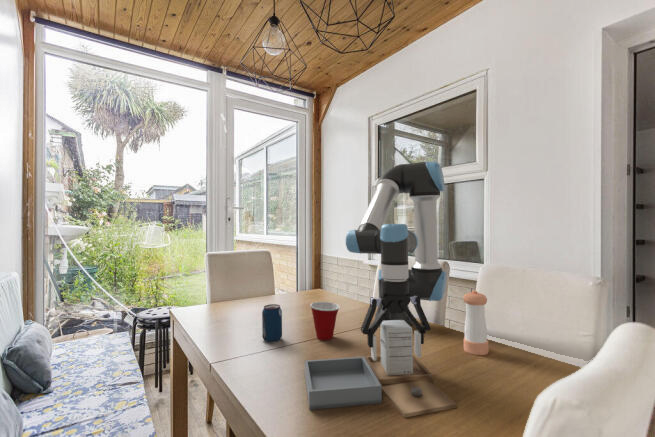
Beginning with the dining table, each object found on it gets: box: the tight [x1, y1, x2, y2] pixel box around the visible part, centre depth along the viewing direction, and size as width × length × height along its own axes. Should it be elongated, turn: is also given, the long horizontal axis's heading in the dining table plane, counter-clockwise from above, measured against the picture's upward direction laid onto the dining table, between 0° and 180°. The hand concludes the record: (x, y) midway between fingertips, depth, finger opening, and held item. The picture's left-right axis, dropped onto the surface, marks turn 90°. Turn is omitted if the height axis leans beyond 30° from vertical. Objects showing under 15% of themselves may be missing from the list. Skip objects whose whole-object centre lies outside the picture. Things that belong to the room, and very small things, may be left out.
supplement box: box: [379, 320, 414, 375], centre depth 91 cm, size 7×7×13 cm
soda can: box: [261, 303, 283, 344], centre depth 117 cm, size 7×7×12 cm
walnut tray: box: [363, 354, 434, 386], centre depth 91 cm, size 15×15×2 cm
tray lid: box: [382, 380, 458, 419], centre depth 77 cm, size 13×12×2 cm
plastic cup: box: [310, 301, 341, 341], centre depth 118 cm, size 11×11×12 cm
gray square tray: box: [304, 356, 383, 411], centre depth 82 cm, size 17×17×4 cm
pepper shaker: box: [462, 289, 490, 356], centre depth 105 cm, size 7×7×19 cm
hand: (396, 357), depth 91 cm, fingers open, 12 cm apart
